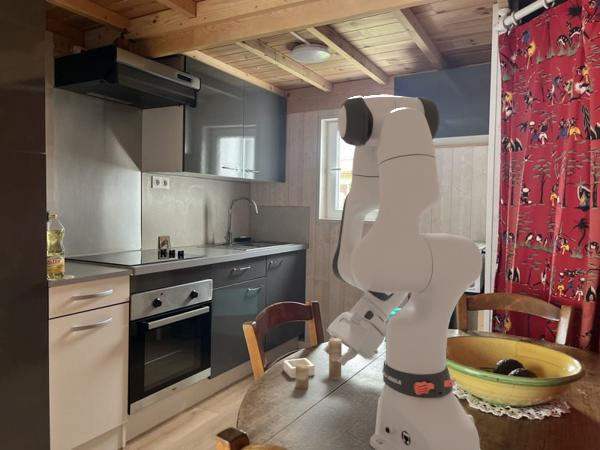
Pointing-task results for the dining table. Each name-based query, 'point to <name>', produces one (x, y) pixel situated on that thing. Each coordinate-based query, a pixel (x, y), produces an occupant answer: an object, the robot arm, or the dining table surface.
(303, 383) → the short pin
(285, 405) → the dining table surface
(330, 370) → the long pin
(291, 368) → the socket
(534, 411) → the dining table surface
